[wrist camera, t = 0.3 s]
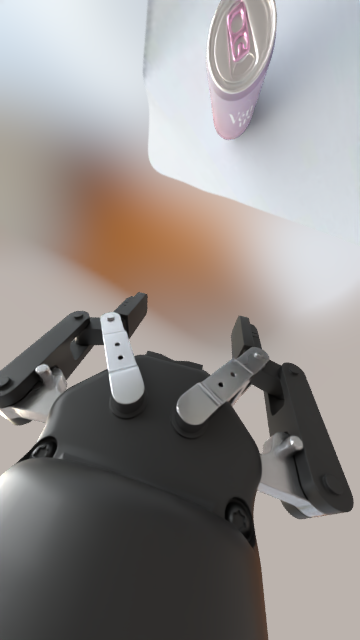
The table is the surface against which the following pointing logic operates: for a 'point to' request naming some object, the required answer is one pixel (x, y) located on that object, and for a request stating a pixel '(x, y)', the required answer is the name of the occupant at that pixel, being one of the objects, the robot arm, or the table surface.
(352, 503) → the robot arm
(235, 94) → the beverage can
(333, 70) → the table surface
